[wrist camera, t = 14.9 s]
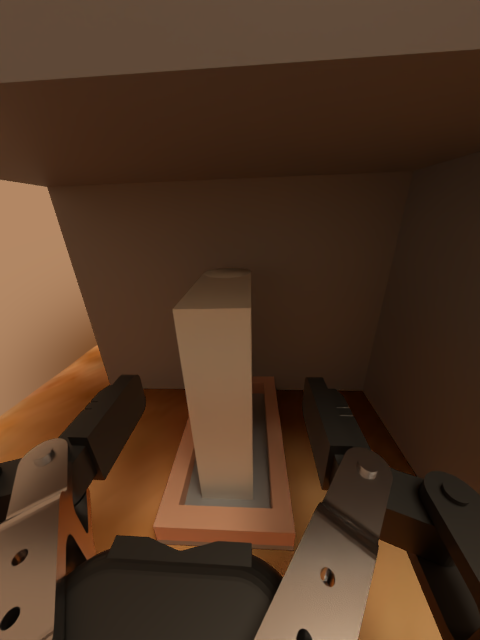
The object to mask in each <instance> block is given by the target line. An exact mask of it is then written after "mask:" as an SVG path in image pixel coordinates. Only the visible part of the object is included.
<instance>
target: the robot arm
mask: <svg viewBox="0 0 480 640" xmlns="http://www.w3.org/2000/svg"><path fill="white" fill-rule="evenodd" d="M145 405H146V399H145V395H144V391H143V387H142V383H141V379H140V376H139V375H128V374H123V375H120V376H119V377H118V379H117V380H116V381H115V382H114V383H113V384H112V385H109V386H107V387H106V388H104V389H103V390H101V391H100V392H99V393H98V394H97V395H96V396H95V397H94V398H93V399H92V401H91V403H89V404H88V405H87V406H86V407H85V410H83V411H82V412H81V413H80V414H79V415H78V416H77V417H76V418H75V420H74V421H73V422H72V423H71V424H70V425H69V426H68V427H67V428H66V430H65V431H64V432H63V433H62V434H61V435H60V436H59V437H58V438H56V439H51V440H48V441H45V442H43V443H41V444H39V445H37V446H36V447H34V448H33V449H31V450H30V451H29V452H28V453H27V454H26V455H25V456H24V457H23V458H20V459H16V460H12V461H8V462H4V463H0V640H358V637H359V632H360V628H361V624H362V619H363V615H364V610H365V606H366V602H367V597H368V593H369V589H370V584H371V580H372V576H373V571H374V567H375V563H376V558H377V553H378V547H379V545H378V540H379V539H380V540H382V541H384V542H387V543H389V544H392V545H394V546H396V547H399V548H401V549H403V550H406V551H407V554H408V556H409V559H410V561H411V564H412V566H413V568H414V571H415V573H416V576H417V578H418V581H419V583H420V585H421V588H422V590H423V593H424V595H425V598H426V600H427V602H428V605H429V607H430V610H431V612H432V615H433V617H434V619H435V622H436V624H437V627H438V629H439V632H440V634H441V636H442V639H443V640H480V495H479V494H478V493H477V492H476V491H475V490H474V489H473V488H472V487H470V486H469V485H468V484H467V483H465V482H464V481H462V480H461V479H459V478H457V477H455V476H453V475H451V474H449V473H445V472H441V471H431V472H429V473H427V474H426V475H425V477H424V479H422V478H419V477H415V476H412V475H409V474H406V473H403V472H400V471H397V470H395V469H393V468H391V467H389V465H388V464H387V463H386V461H385V460H384V459H383V458H382V457H381V456H379V455H378V454H377V453H375V452H373V451H371V449H370V447H369V445H368V443H367V441H366V439H365V437H364V435H363V433H362V431H361V429H360V427H359V425H358V423H357V421H356V419H355V417H354V416H353V414H352V412H351V410H350V408H349V406H348V404H347V402H346V400H345V398H344V396H343V395H342V394H340V393H339V392H338V391H337V390H336V389H328V388H327V386H326V383H325V381H324V379H323V377H306V378H305V383H304V392H303V402H302V408H303V416H304V420H305V424H306V428H307V432H308V436H309V440H310V444H311V448H312V452H313V456H314V460H315V464H316V468H317V472H318V476H319V480H320V483H321V487H322V490H328V491H327V494H326V496H325V498H324V500H323V502H322V503H321V502H320V503H319V504H318V506H317V508H316V510H315V512H314V514H313V516H312V518H311V520H310V522H309V524H308V526H307V528H306V531H305V533H304V535H303V537H302V539H301V541H300V543H299V545H298V547H297V550H296V552H295V554H294V556H293V558H292V560H291V562H290V564H289V566H288V569H287V571H286V573H285V575H284V577H282V576H281V575H280V574H279V573H278V572H277V571H276V570H275V569H274V568H273V567H272V566H270V565H269V564H268V563H266V562H265V561H263V560H262V559H260V558H258V557H256V556H254V555H252V543H245V542H227V541H216V542H212V543H208V544H205V545H201V546H198V547H194V548H190V549H187V550H183V551H179V550H176V549H174V548H171V547H169V546H167V545H165V544H163V543H160V542H158V541H156V540H154V539H152V538H149V537H137V536H119V535H116V537H115V540H114V542H113V544H112V547H111V549H108V550H105V551H103V552H101V553H99V554H97V553H96V549H95V546H94V541H93V531H92V517H91V502H90V491H89V488H88V487H89V485H90V483H91V482H92V480H105V479H106V477H107V475H108V473H109V472H110V470H111V468H112V466H113V465H114V463H115V461H116V459H117V458H118V456H119V454H120V452H121V451H122V449H123V447H124V445H125V444H126V442H127V440H128V438H129V437H130V435H131V433H132V431H133V430H134V428H135V426H136V424H137V423H138V421H139V419H140V417H141V416H142V414H143V412H144V409H145Z"/></svg>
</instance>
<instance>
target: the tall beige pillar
mask: <svg viewBox="0 0 480 640" xmlns="http://www.w3.org/2000/svg"><path fill="white" fill-rule="evenodd" d="M172 310H173V316H174V323H175V329H176V335H177V341H178V348H179V354H180V360H181V367H182V373H183V379H184V386H185V392H186V398H187V405H188V411H189V417H190V424H191V430H192V436H193V442H194V449H195V455H196V461H197V468H198V474H199V480H200V487H201V493H202V498H208V499H239V500H253V410H252V317H251V271H250V270H248V269H244V268H219V269H213V270H209V271H206V272H205V273H204V274H203V275H202V276H201V277H200V278H199V279H198V280H197V282H196V283H195V284H194V285H193V286H192V287H191V288H190V290H189V291H188V292H187V293H186V294H185V295H184V297H183V298H182V299H181V300H180V301H179V302H178V303H177V305H176V306H175V307H174V308H173V309H172Z"/></svg>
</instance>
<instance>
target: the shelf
mask: <svg viewBox="0 0 480 640" xmlns="http://www.w3.org/2000/svg"><path fill="white" fill-rule="evenodd" d="M0 180H7V181H13V182H20V183H26V184H33V185H39V186H45V187H48V191H49V194H50V197H51V200H52V203H53V206H54V209H55V213H56V216H57V219H58V222H59V225H60V228H61V231H62V234H63V238H64V241H65V244H66V247H67V250H68V253H69V257H70V260H71V263H72V266H73V269H74V272H75V275H76V278H77V282H78V285H79V288H80V291H81V294H82V297H83V300H84V303H85V307H86V310H87V313H88V316H89V319H90V322H91V325H92V329H93V332H94V335H95V338H96V341H97V344H98V347H99V351H100V354H101V357H102V360H103V363H104V366H105V369H106V372H107V376H108V379H109V382H110V385H112V384H113V383H114V382H115V381H116V380H117V379H118V377H119V376H120V375H123V374H128V375H139V376H140V379H141V383H142V387H143V389H185V386H184V379H183V373H182V367H181V360H180V354H179V348H178V341H177V335H176V329H175V323H174V316H173V310H172V309H173V308H174V307H175V306H176V305H177V303H178V302H179V301H180V300H181V299H182V298H183V297H184V295H185V294H186V293H187V292H188V291H189V290H190V288H191V287H192V286H193V285H194V284H195V283H196V282H197V280H198V279H199V278H200V277H201V276H202V275H203V274H204V273H205V272H206V271H209V270H213V269H219V268H244V269H248V270H250V271H251V317H252V410H253V500H239V499H208V498H202V493H201V487H200V480H199V474H198V468H197V461H196V455H195V449H194V442H193V436H192V430H191V424H190V417H188V420H187V423H186V426H185V429H184V432H183V435H182V439H181V442H180V445H179V448H178V451H177V454H176V457H175V460H174V463H173V466H172V470H171V473H170V476H169V479H168V482H167V485H166V488H165V491H164V494H163V497H162V501H161V504H160V507H159V510H158V513H157V516H156V519H155V522H154V525H153V528H154V531H155V535H156V538H157V541H158V542H160V543H163V544H173V545H193V546H201V545H205V544H208V543H212V542H216V541H227V542H245V543H252V548H255V549H275V550H293V549H294V541H295V526H294V519H293V512H292V505H291V497H290V490H289V483H288V475H287V468H286V461H285V453H284V446H283V439H282V431H281V424H280V417H279V409H278V402H277V395H276V390H304V383H305V378H306V377H323V379H324V381H325V383H326V386H327V388H328V389H336V390H347V391H363V392H364V394H365V396H366V397H367V399H368V400H369V402H370V403H371V405H372V407H373V408H374V410H375V411H376V413H377V414H378V416H379V418H380V419H381V421H382V422H383V424H384V425H385V427H386V428H387V430H388V432H389V433H390V435H391V436H392V438H393V439H394V441H395V443H396V444H397V446H398V447H399V449H400V450H401V452H402V454H403V455H404V457H405V458H406V460H407V461H408V463H409V464H410V466H411V468H412V469H413V471H414V472H415V474H416V475H417V477H419V478H422V479H424V477H425V475H426V474H427V473H429V472H431V471H441V472H445V473H449V474H451V475H453V476H455V477H457V478H459V479H461V480H462V481H464V482H465V483H467V484H468V485H469V486H470V487H472V488H473V489H474V490H475V491H476V492H477V493H478V494H479V495H480V0H0Z"/></svg>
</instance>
